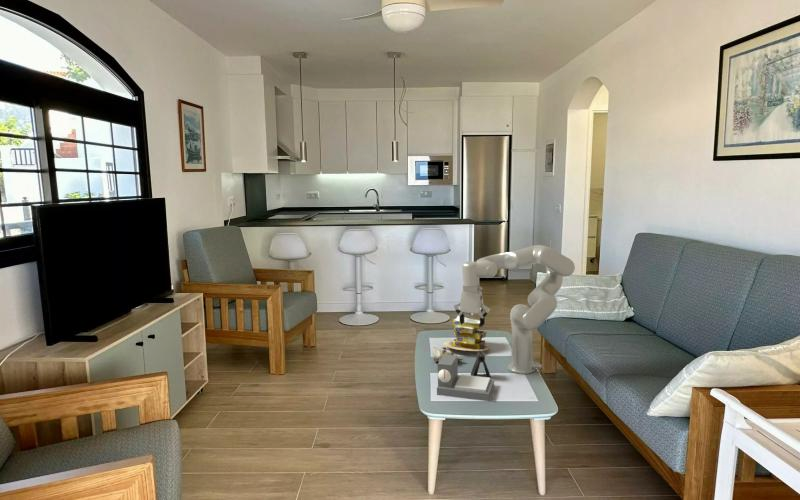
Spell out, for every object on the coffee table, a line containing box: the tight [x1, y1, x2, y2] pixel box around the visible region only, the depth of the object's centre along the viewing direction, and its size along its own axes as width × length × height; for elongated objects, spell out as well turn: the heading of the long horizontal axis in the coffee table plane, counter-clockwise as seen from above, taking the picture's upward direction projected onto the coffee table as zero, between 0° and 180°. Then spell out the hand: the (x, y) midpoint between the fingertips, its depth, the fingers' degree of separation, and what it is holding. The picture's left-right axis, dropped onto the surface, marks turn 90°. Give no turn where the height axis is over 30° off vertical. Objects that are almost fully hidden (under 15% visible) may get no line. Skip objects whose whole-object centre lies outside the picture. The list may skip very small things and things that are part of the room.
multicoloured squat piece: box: [442, 315, 490, 352], centre depth 256 cm, size 25×25×17 cm
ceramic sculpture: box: [432, 346, 464, 363], centre depth 236 cm, size 11×9×15 cm
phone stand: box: [470, 350, 492, 379], centre depth 217 cm, size 9×6×12 cm, turn 86°
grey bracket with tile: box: [436, 354, 495, 402], centre depth 205 cm, size 22×16×13 cm
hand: (472, 324), depth 219 cm, fingers open, 9 cm apart
